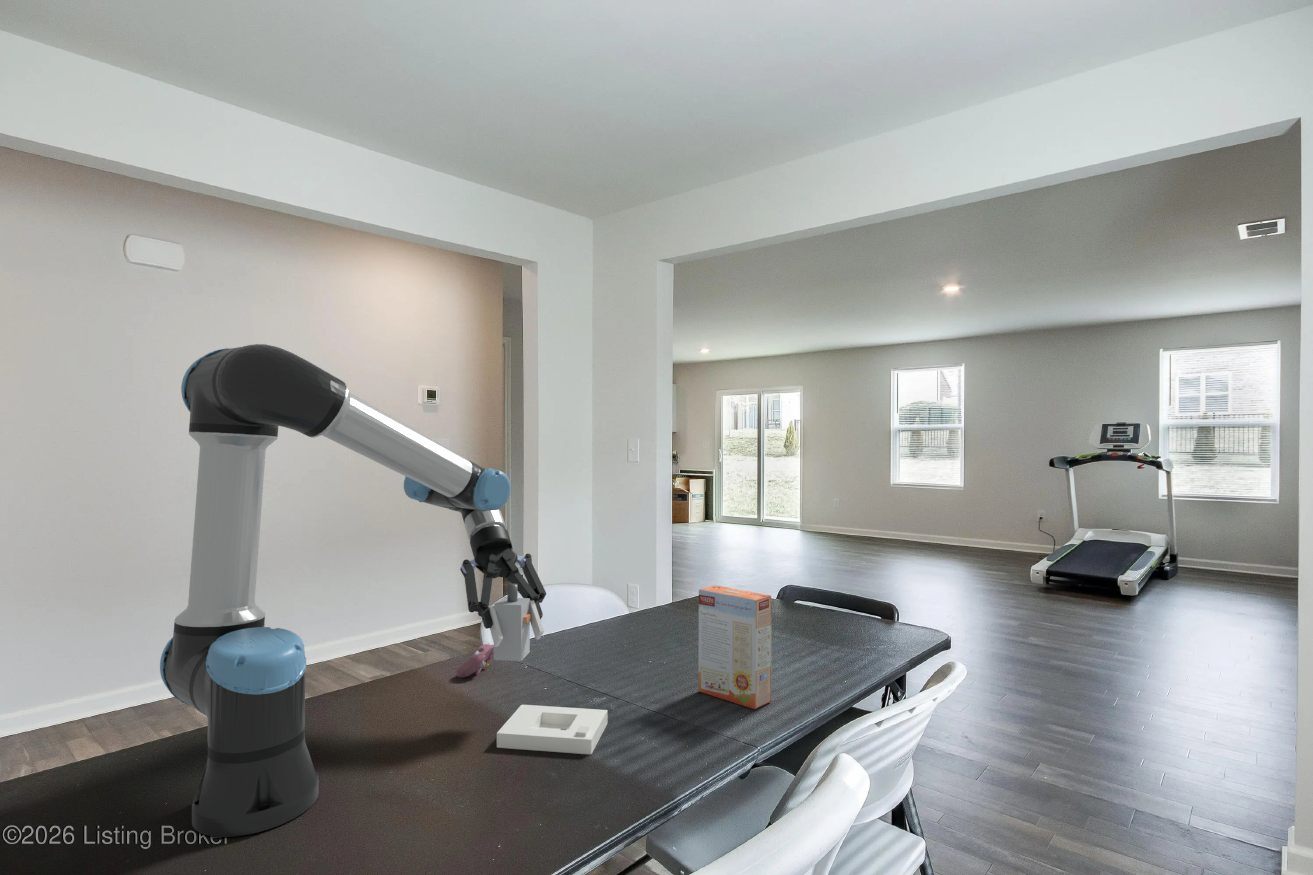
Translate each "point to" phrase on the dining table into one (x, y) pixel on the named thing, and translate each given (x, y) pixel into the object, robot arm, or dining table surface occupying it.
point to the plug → (513, 626)
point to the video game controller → (477, 661)
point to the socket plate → (553, 729)
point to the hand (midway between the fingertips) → (519, 638)
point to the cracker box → (735, 645)
